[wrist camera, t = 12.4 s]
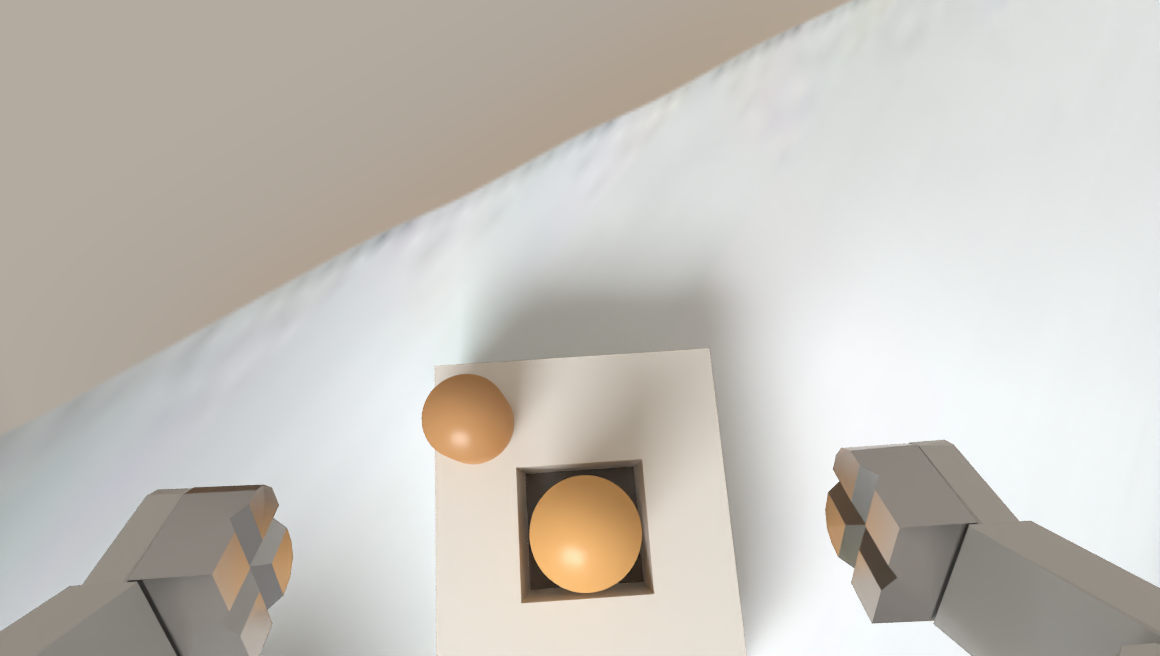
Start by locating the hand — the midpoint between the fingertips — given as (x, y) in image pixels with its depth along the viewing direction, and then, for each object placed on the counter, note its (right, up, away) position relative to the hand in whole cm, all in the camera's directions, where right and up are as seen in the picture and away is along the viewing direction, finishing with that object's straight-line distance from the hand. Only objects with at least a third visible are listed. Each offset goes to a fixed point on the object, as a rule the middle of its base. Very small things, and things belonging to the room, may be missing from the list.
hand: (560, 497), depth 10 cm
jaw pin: (0, -5, +17) cm, 17 cm away
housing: (0, -5, +17) cm, 17 cm away
